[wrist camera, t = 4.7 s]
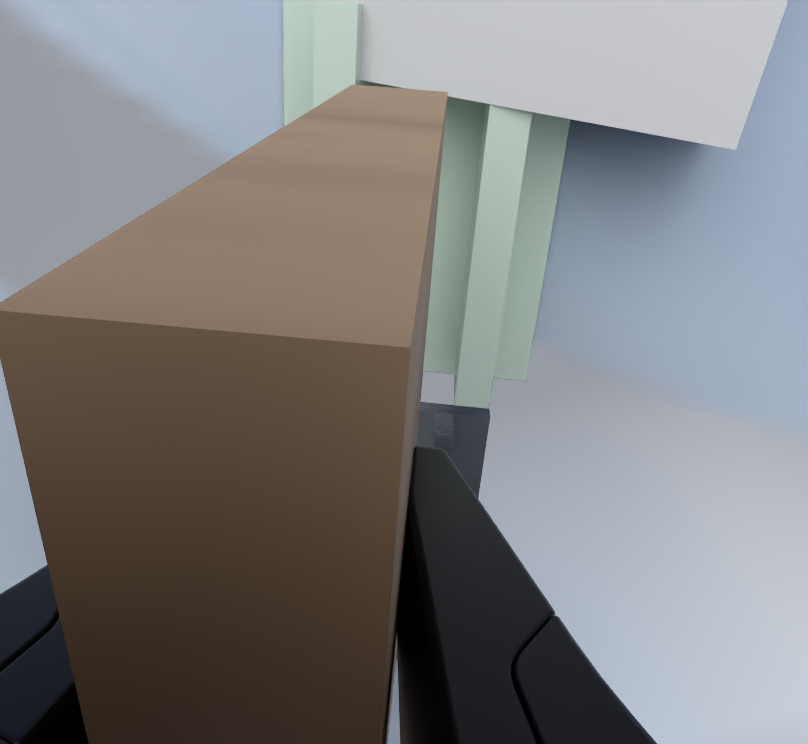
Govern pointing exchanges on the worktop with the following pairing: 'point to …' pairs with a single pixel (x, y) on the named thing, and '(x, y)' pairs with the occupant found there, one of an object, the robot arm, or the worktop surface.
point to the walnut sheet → (239, 433)
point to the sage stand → (456, 204)
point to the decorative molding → (583, 58)
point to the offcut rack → (456, 437)
